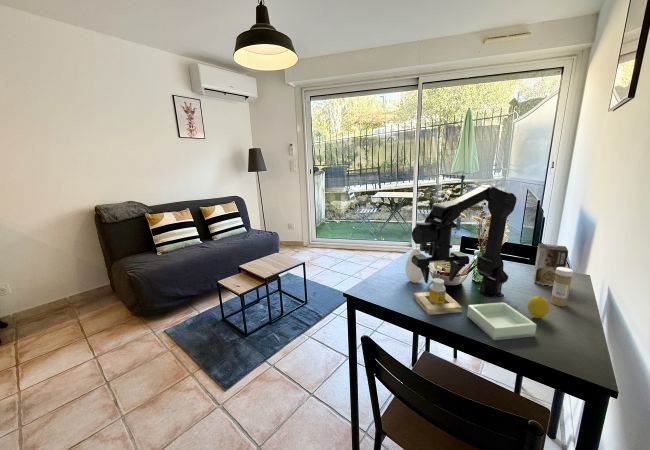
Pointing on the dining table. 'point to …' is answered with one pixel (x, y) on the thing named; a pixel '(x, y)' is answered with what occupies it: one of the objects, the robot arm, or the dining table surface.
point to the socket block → (430, 309)
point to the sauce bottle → (413, 267)
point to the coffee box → (549, 263)
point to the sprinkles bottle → (561, 286)
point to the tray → (501, 321)
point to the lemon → (538, 307)
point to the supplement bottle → (437, 292)
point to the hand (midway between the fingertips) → (438, 281)
